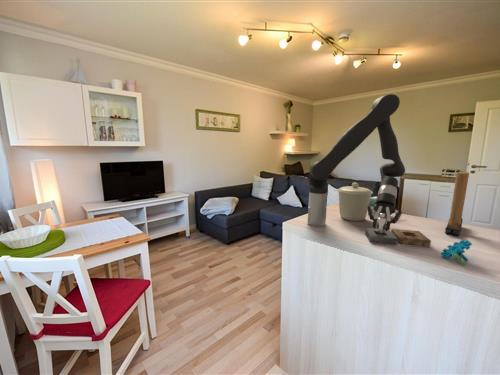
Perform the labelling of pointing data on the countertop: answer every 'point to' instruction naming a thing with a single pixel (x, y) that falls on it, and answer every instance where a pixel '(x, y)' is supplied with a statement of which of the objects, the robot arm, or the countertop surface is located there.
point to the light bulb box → (373, 204)
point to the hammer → (457, 204)
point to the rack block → (411, 238)
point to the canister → (354, 202)
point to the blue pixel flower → (457, 250)
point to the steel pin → (381, 224)
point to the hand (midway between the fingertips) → (380, 228)
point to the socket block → (380, 237)
